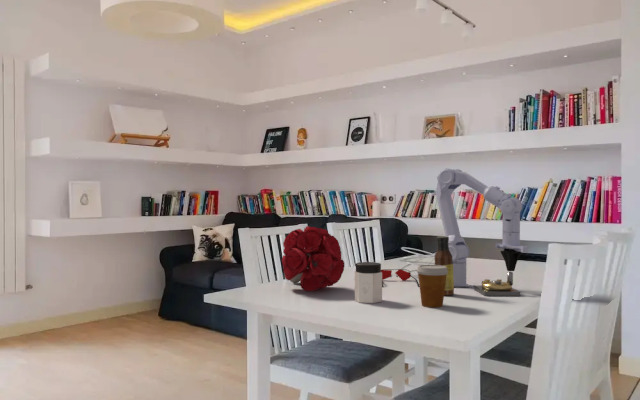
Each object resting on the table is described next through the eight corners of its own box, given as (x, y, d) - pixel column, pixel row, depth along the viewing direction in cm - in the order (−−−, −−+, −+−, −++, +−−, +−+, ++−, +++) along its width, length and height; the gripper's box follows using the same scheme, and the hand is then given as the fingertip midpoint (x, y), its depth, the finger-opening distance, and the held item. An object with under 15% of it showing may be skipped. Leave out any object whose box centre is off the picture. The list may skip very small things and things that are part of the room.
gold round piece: (478, 288, 177) (478, 272, 177) (485, 284, 185) (485, 268, 185) (509, 291, 171) (509, 274, 171) (515, 287, 180) (515, 270, 180)
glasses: (410, 281, 206) (410, 268, 206) (419, 288, 190) (419, 274, 190) (376, 281, 206) (376, 268, 206) (382, 288, 189) (382, 275, 189)
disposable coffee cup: (414, 302, 162) (414, 264, 162) (444, 302, 162) (444, 264, 162) (419, 308, 153) (419, 268, 153) (451, 308, 153) (451, 268, 153)
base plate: (484, 296, 173) (484, 291, 173) (474, 289, 185) (474, 285, 185) (520, 296, 173) (520, 291, 172) (507, 289, 185) (507, 285, 184)
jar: (351, 302, 162) (351, 264, 162) (357, 297, 170) (357, 261, 170) (379, 304, 159) (379, 265, 159) (384, 299, 167) (384, 262, 167)
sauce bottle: (455, 293, 177) (455, 236, 177) (452, 296, 171) (452, 237, 171) (436, 292, 180) (436, 235, 180) (432, 295, 174) (432, 236, 174)
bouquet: (269, 305, 190) (298, 274, 166) (263, 247, 201) (289, 210, 177) (322, 304, 198) (357, 275, 175) (314, 248, 209) (345, 214, 186)
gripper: (488, 230, 185) (488, 268, 185) (515, 233, 171) (515, 274, 172) (504, 230, 187) (504, 267, 188) (532, 233, 174) (532, 273, 174)
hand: (510, 270), depth 180 cm, fingers closed
